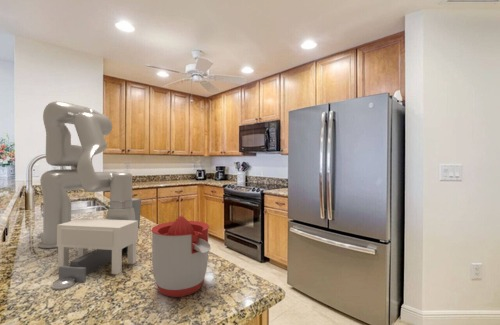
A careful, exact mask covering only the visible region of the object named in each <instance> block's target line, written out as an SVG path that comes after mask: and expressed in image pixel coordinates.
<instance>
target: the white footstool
mask: <svg viewBox="0 0 500 325" xmlns="http://www.w3.org/2000/svg"><path fill="white" fill-rule="evenodd" d="M138 241H139V228H138V221H133V220H109V219H106V218H103V219H102V218H85V217H84V218H78V219H74V220H71V221H70V222H66V223H63V224H59V225H57V247H56V248H57V271H59V267H60V266H70V256H69V255H70V248H73V249H77V258H79V257H81V256H83V255H85V254H87V253H89V252H88V249H90V250H96V249H104V250H112V261H111V275H119V274H120V273H122V270H123V268H122V267H123V265H122V264H123V262H122V260H123V259H122V258H123V255H122V249H123V248H125V247H127V246H128V252H127V265H134V264H136V263H137V242H138Z"/></svg>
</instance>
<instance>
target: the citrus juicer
mask: <svg viewBox="0 0 500 325" xmlns="http://www.w3.org/2000/svg"><path fill="white" fill-rule="evenodd" d="M209 229H210V225H209V224H208V223H206V222H203V221H199V220H198V221H197V220H187V218H186V217H184V216H183V215H181V216H178V217H177V218H176V219H175V221H169V222H163V223H160V224H157V225H154V226H153V227H152V228H151V234H152V238H151V239H152V240H151V241H152V244H151V245H152V247H151V250H152V251H151V253H152V254H151V255H152V256H151V262H152V263H151V264H152V272H153V277H154V280H155V285H156V288H157V289H158V292H159V293H160V294H162V296H163V295H164V296H166V297H172V298H173V297H174V298H181V297H184V296H189V295H191V294H194V293H196V292H197V291H199V290H200V289H201V287H202V285H203V283H204V280H205V276H206V273H207V268H208V263H209V262H208V260H209V252H210V250H211V244H210V243H209Z"/></svg>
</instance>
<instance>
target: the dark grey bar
mask: <svg viewBox="0 0 500 325" xmlns="http://www.w3.org/2000/svg"><path fill="white" fill-rule="evenodd" d="M110 262H111V263H112V250H104V249H93V250H92V251H89V252H88V253H87V254H85V255H83V256H81V257H79V258H78V257H76V258H75V259H72V260H71V261H70V260H69V266H60V267H59V270H58V279H60V278H64V277H74V278H75V283H84V282H86V281H87V276H88V275H89V274H91V273H93V272H95V271H96V270H98V269H100V268H101V267H104V266H106V265H107V264H108V263H110Z"/></svg>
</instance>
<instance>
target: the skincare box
mask: <svg viewBox="0 0 500 325" xmlns="http://www.w3.org/2000/svg"><path fill="white" fill-rule="evenodd" d="M141 207H142V199H140V198H135V197H134V198H133V197H132V208H134V212H135V220H136V221H138V229H140V223H141V210H142V208H141Z"/></svg>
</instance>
